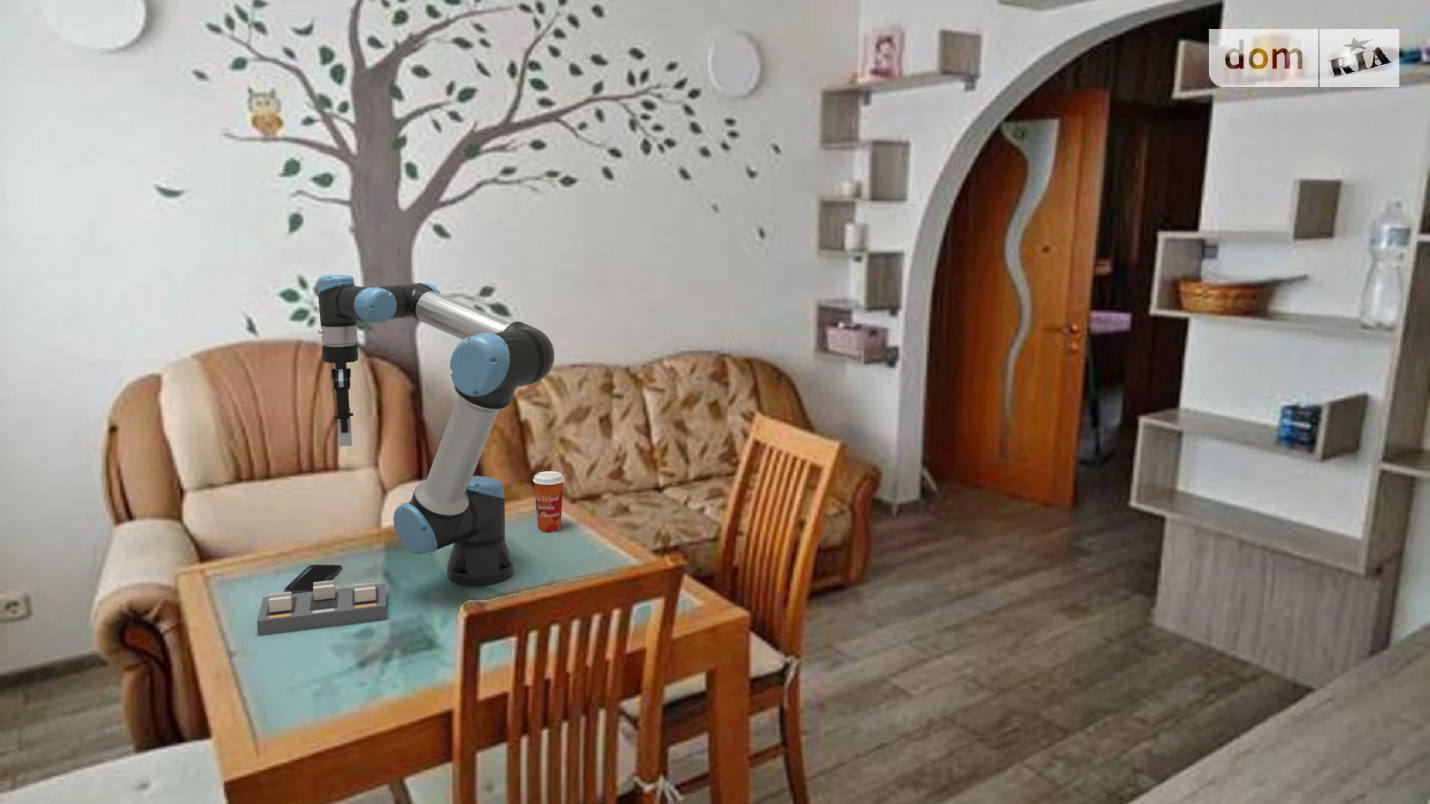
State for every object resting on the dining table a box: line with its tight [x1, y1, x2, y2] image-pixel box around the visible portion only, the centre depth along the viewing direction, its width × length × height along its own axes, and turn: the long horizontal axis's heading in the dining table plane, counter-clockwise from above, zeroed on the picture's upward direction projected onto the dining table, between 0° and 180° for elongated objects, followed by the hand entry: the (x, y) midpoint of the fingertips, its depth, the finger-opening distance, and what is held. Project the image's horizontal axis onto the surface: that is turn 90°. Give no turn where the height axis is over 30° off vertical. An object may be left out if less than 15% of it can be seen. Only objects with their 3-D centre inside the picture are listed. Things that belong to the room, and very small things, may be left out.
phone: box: [283, 564, 343, 594], centre depth 206 cm, size 8×1×15 cm
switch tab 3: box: [353, 581, 376, 603], centre depth 189 cm, size 4×3×3 cm
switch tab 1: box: [268, 591, 293, 612], centre depth 184 cm, size 4×3×3 cm
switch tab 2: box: [313, 579, 336, 600], centre depth 190 cm, size 4×3×3 cm
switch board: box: [256, 583, 388, 636], centre depth 189 cm, size 24×12×3 cm, turn 111°
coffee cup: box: [532, 470, 566, 533], centre depth 242 cm, size 8×8×15 cm
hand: (345, 445), depth 210 cm, fingers closed
